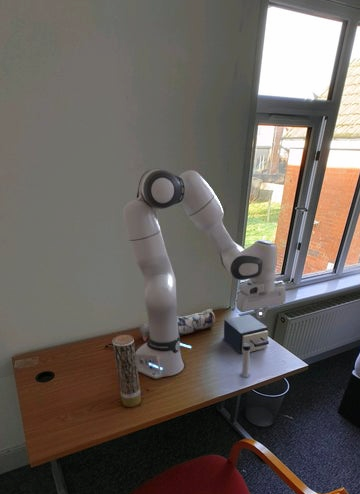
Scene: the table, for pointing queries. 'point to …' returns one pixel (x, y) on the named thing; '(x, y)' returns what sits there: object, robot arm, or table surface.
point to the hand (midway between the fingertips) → (260, 317)
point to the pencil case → (195, 322)
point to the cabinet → (240, 329)
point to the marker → (245, 359)
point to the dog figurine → (144, 329)
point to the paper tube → (127, 370)
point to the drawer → (256, 340)
